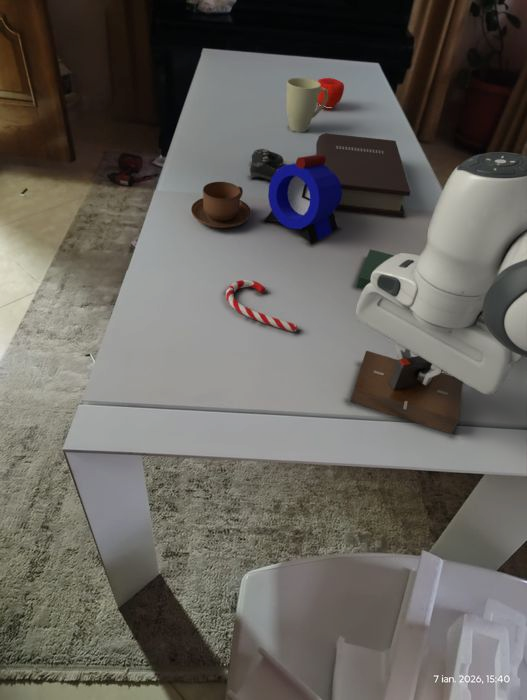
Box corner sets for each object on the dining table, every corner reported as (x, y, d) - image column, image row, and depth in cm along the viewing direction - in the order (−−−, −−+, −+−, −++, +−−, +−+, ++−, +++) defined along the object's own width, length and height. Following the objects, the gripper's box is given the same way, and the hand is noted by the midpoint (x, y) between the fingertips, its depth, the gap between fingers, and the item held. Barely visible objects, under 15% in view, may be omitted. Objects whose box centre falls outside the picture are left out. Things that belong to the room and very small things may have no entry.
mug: (310, 138, 139) (316, 91, 131) (277, 130, 142) (281, 83, 133) (324, 126, 146) (331, 81, 138) (292, 118, 149) (297, 73, 141)
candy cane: (283, 336, 77) (214, 292, 84) (283, 342, 78) (214, 298, 85) (314, 313, 82) (246, 273, 88) (313, 319, 83) (245, 279, 89)
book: (314, 155, 131) (318, 132, 127) (389, 163, 131) (395, 140, 127) (314, 207, 110) (318, 181, 106) (403, 217, 110) (410, 191, 106)
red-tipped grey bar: (425, 375, 71) (436, 351, 68) (431, 382, 70) (442, 358, 67) (388, 383, 70) (397, 358, 66) (393, 390, 69) (402, 366, 65)
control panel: (456, 387, 74) (464, 373, 72) (450, 440, 67) (459, 425, 65) (363, 359, 77) (367, 344, 75) (348, 407, 70) (352, 392, 68)
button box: (429, 275, 95) (436, 257, 92) (423, 306, 88) (430, 287, 85) (367, 258, 97) (372, 240, 95) (356, 287, 90) (360, 269, 87)
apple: (345, 112, 156) (350, 85, 151) (319, 113, 154) (323, 85, 149) (333, 102, 162) (338, 75, 157) (308, 103, 160) (311, 76, 155)
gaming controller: (283, 183, 117) (280, 162, 114) (251, 187, 118) (247, 167, 115) (283, 161, 126) (281, 141, 122) (254, 166, 127) (250, 146, 123)
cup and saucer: (207, 199, 110) (207, 171, 105) (258, 212, 107) (260, 184, 103) (181, 224, 101) (180, 195, 97) (236, 239, 99) (237, 210, 94)
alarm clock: (262, 222, 104) (268, 149, 94) (298, 203, 111) (308, 134, 101) (309, 246, 99) (321, 172, 89) (344, 224, 106) (359, 154, 96)
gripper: (543, 324, 56) (495, 405, 66) (388, 247, 66) (365, 328, 75) (522, 351, 53) (474, 432, 62) (361, 266, 62) (340, 348, 72)
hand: (413, 374), depth 69 cm, fingers closed on red-tipped grey bar, 2 cm apart
